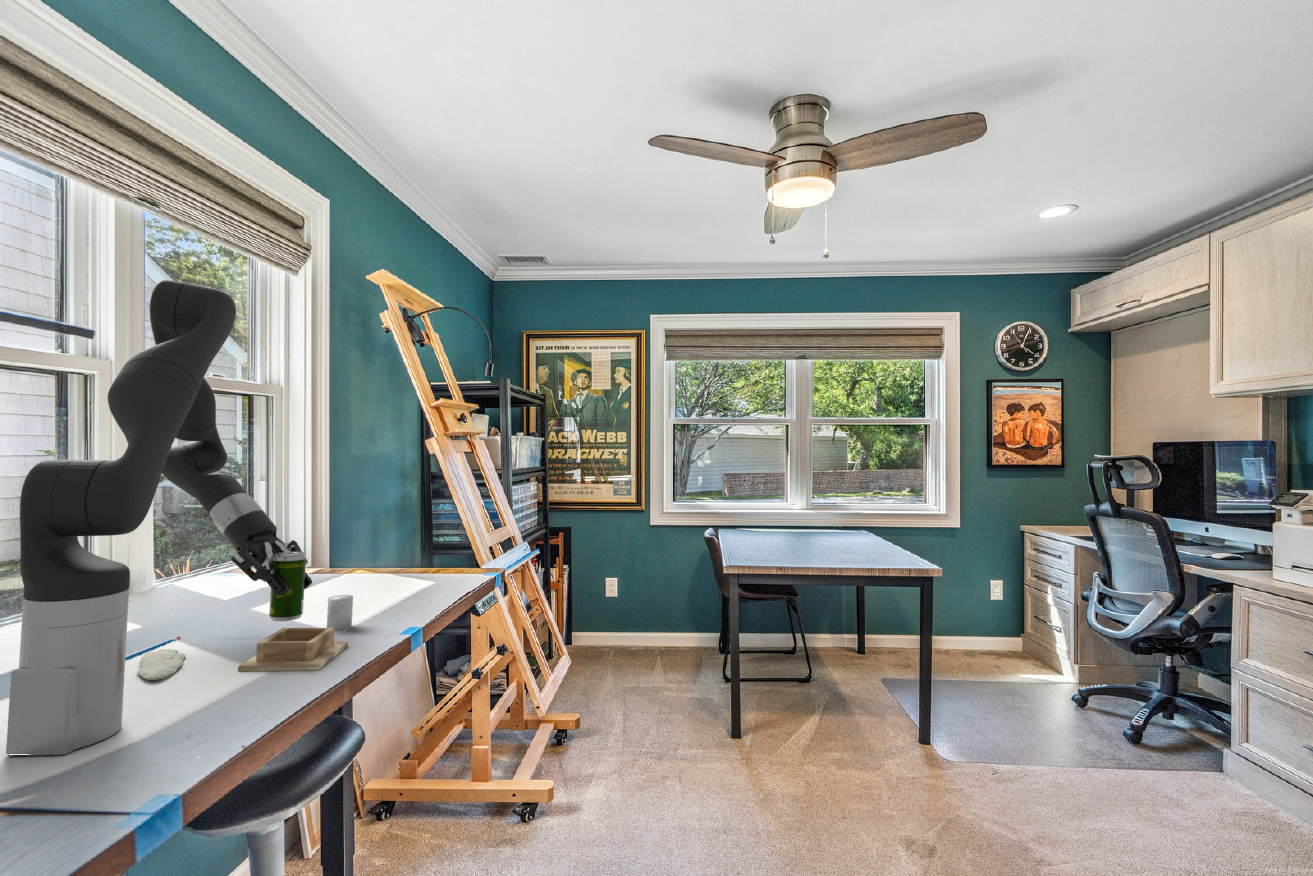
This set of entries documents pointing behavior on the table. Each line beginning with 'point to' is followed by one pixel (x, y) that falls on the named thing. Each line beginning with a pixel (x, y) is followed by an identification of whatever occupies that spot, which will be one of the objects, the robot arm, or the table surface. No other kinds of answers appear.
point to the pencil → (151, 648)
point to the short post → (340, 612)
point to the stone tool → (160, 664)
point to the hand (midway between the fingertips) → (296, 589)
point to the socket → (295, 650)
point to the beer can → (294, 576)
